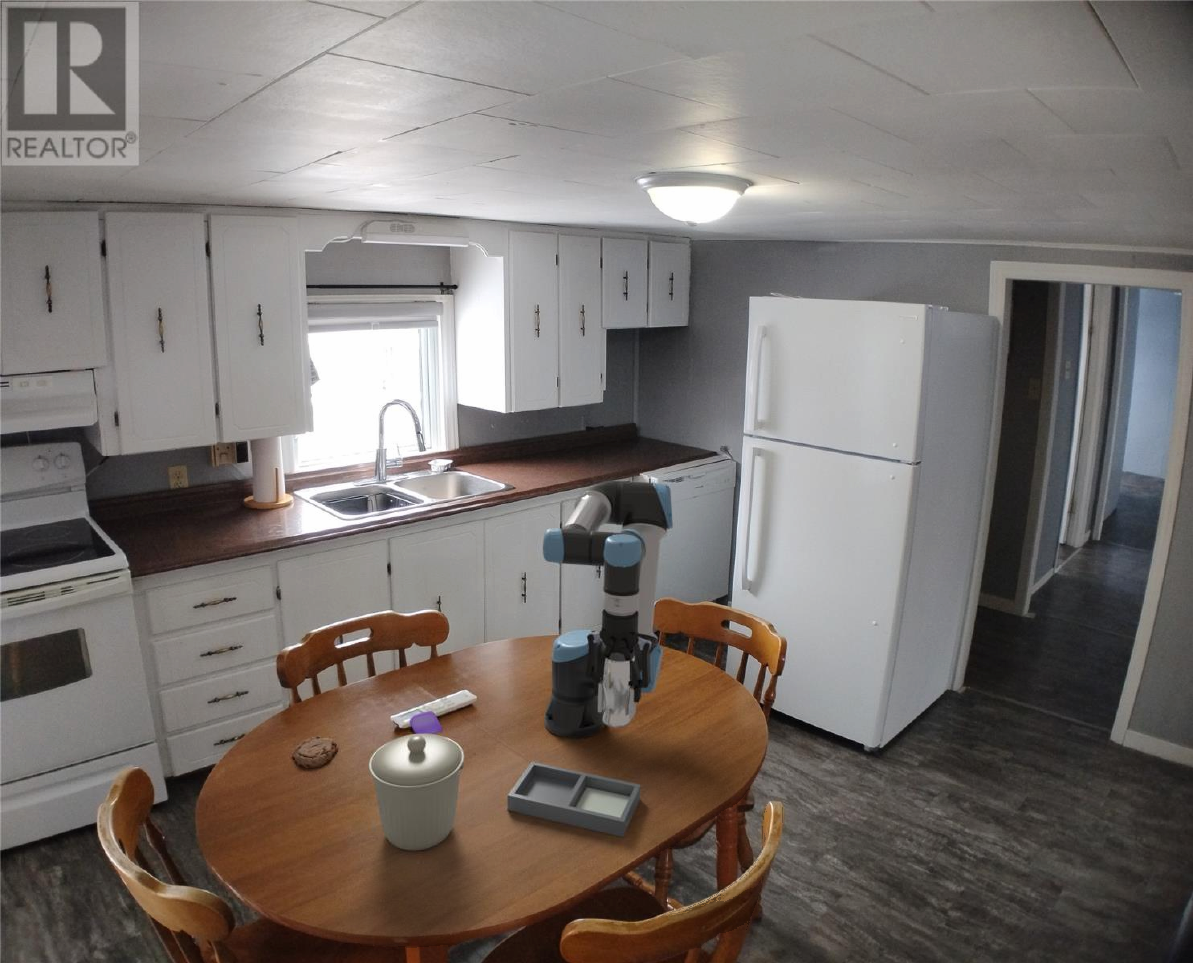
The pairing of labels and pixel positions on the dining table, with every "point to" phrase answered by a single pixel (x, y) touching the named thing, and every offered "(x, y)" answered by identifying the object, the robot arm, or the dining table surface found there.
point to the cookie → (314, 751)
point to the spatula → (425, 723)
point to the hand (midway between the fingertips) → (616, 711)
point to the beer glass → (617, 689)
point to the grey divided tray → (575, 798)
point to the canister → (417, 788)
